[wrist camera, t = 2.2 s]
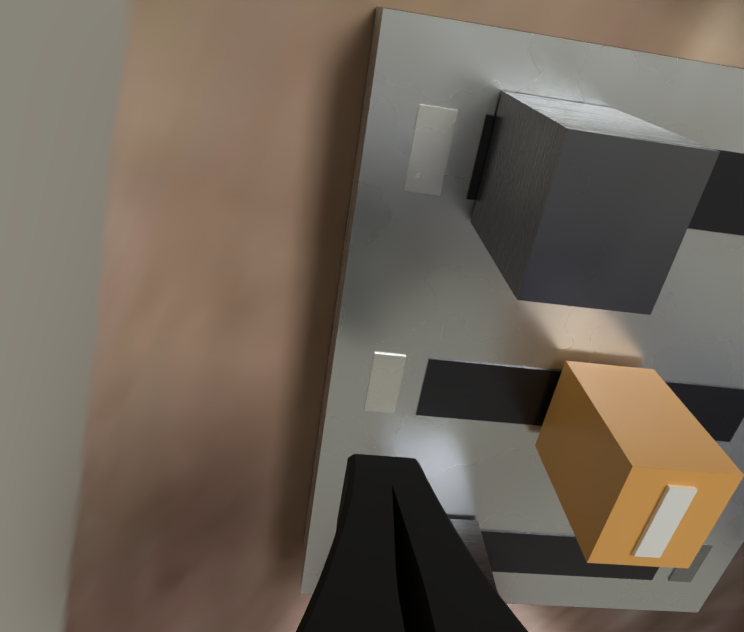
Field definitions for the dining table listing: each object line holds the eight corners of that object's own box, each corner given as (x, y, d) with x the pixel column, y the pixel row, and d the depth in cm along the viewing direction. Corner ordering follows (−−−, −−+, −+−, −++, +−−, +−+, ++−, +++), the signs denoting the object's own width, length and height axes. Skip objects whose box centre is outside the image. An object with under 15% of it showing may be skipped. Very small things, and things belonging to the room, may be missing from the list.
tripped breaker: (616, 452, 16) (690, 572, 13) (534, 445, 16) (588, 566, 13) (654, 369, 15) (747, 478, 12) (565, 360, 15) (635, 470, 11)
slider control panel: (669, 564, 22) (769, 734, 17) (303, 543, 21) (293, 724, 16) (934, 101, 15) (1267, 160, 9) (376, 6, 13) (404, 13, 8)
